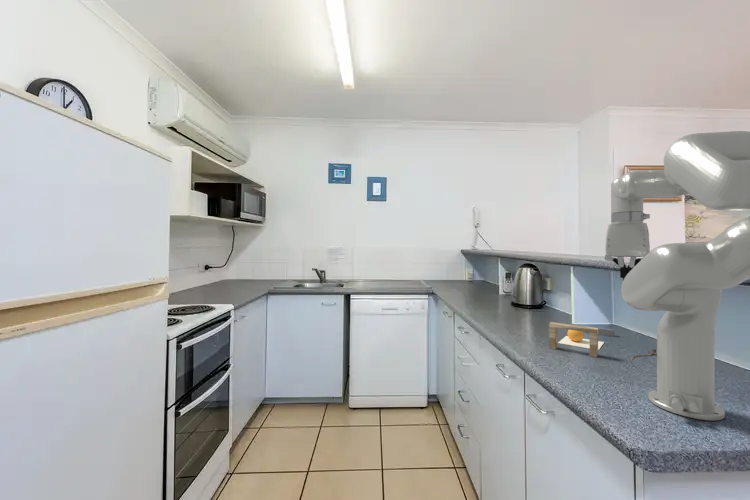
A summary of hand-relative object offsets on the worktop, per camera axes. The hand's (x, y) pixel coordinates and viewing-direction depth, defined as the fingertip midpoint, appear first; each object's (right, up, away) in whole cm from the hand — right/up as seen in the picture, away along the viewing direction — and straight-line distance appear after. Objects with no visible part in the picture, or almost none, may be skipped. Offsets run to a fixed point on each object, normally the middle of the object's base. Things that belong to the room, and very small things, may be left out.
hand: (626, 280), depth 95 cm
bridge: (-5, -27, +18) cm, 33 cm away
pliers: (+18, -28, +13) cm, 36 cm away
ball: (+4, -24, +30) cm, 39 cm away
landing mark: (+5, -27, +29) cm, 40 cm away
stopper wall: (+19, -27, +43) cm, 54 cm away
